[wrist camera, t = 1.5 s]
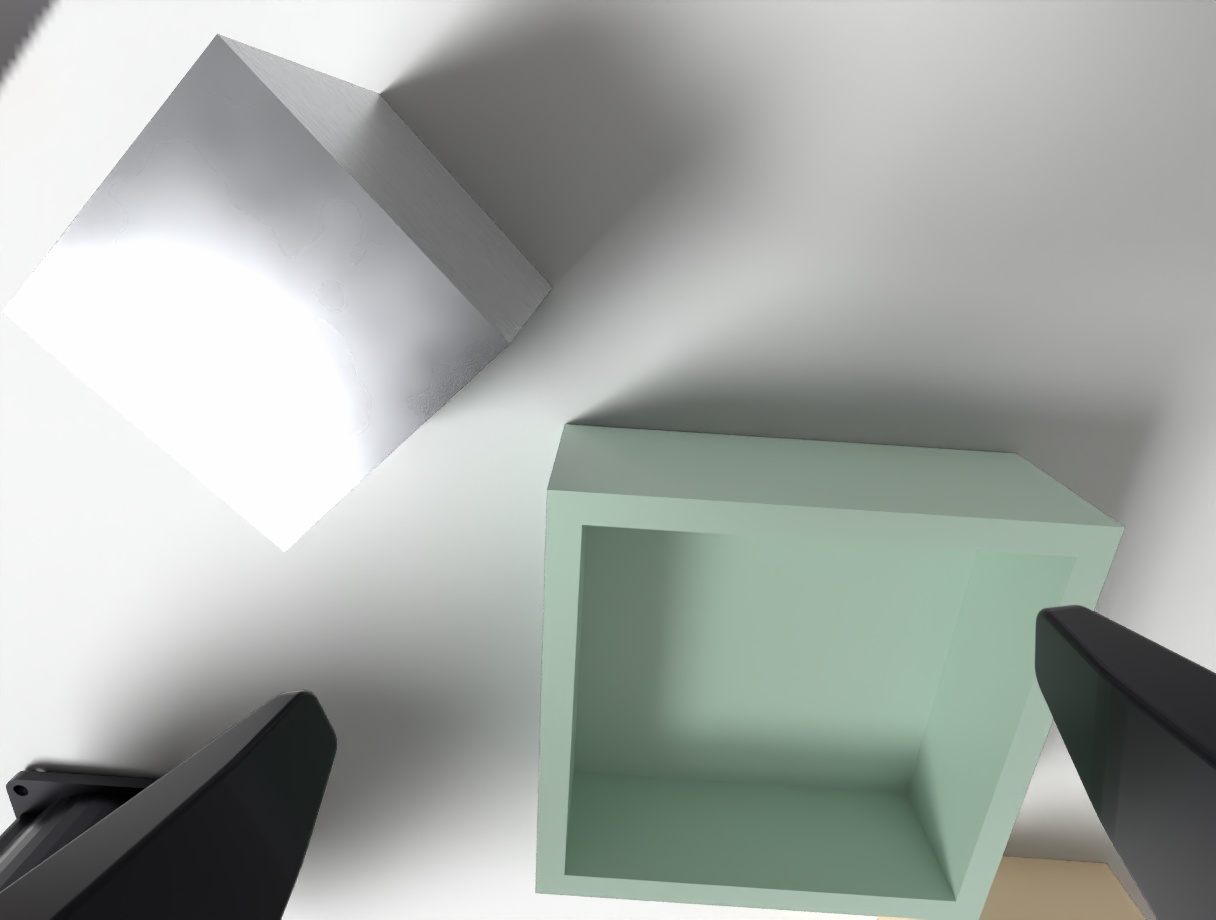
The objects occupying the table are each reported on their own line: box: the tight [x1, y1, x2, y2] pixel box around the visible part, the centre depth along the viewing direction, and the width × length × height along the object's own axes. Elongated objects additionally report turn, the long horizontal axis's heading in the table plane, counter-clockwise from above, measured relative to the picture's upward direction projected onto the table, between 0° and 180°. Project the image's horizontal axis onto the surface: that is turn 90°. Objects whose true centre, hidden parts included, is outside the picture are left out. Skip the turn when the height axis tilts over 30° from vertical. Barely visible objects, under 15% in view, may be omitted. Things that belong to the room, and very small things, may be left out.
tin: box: [3, 34, 552, 552], centre depth 15 cm, size 6×6×7 cm
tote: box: [535, 424, 1125, 920], centre depth 19 cm, size 13×13×4 cm
